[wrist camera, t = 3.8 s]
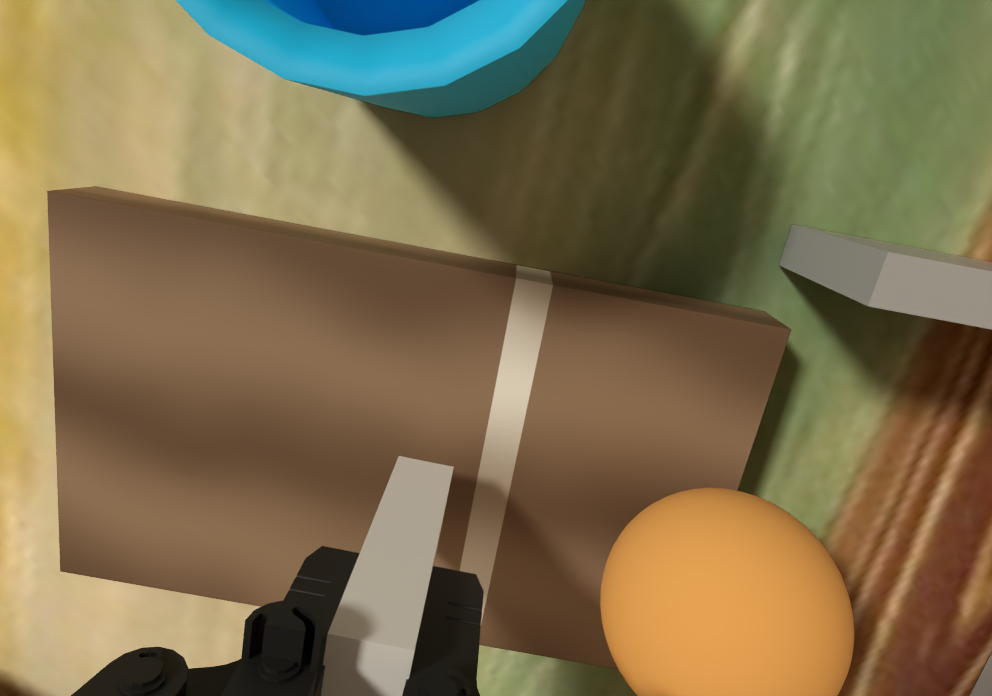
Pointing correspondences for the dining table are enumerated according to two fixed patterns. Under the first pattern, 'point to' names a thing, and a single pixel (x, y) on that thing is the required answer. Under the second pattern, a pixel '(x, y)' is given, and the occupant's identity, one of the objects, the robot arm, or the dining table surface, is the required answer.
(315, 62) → the mug
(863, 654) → the dining table surface
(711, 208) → the dining table surface
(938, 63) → the dining table surface
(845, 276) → the grey frame
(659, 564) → the ball
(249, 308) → the board
